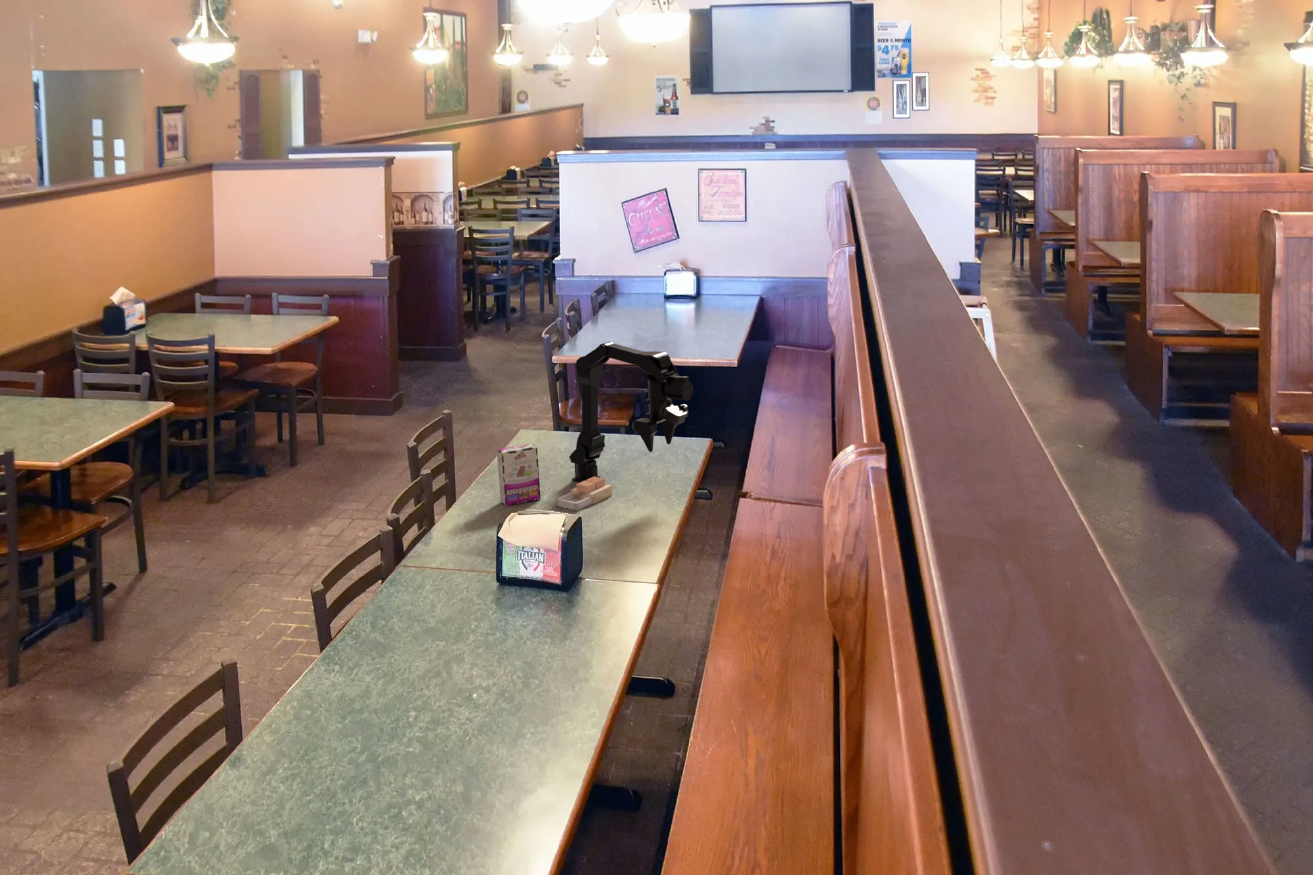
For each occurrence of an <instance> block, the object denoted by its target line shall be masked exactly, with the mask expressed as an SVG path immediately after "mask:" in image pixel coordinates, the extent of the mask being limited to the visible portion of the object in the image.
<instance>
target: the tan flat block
mask: <svg viewBox="0 0 1313 875" xmlns="http://www.w3.org/2000/svg"><path fill="white" fill-rule="evenodd" d="M570 492H572V493H573V499H578V500H583V499H585V498H587V497H589V496H590V497H592V504H591V505H594V504H596V503H598V502H601V501H602V500H605V499H607V498H609V497H611V496H613V485H611V484H607V483H605V485H604V486H602V487H600V488H597V489H595V490H593V491H591V492H588V493H585V492H580V491H577V490H576V487H574V488H570Z"/></svg>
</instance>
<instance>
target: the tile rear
mask: <svg viewBox="0 0 1313 875" xmlns="http://www.w3.org/2000/svg"><path fill="white" fill-rule="evenodd" d="M586 481H589V482H594V483H595V484H596V489H597V488H600V487H602V486H604V485H605V484H606V478H603V477H600V478H599V477H592V478H590V479H587V480H586Z"/></svg>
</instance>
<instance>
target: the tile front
mask: <svg viewBox="0 0 1313 875" xmlns="http://www.w3.org/2000/svg"><path fill="white" fill-rule="evenodd" d="M575 488H576V490H577V491H580V492H585V493H588V492H591V491H593V490H595V489H596V484H595V483H594V482H589V481H583V482H578V483H575Z"/></svg>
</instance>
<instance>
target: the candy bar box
mask: <svg viewBox="0 0 1313 875" xmlns="http://www.w3.org/2000/svg"><path fill="white" fill-rule="evenodd" d="M538 454H539V453H538V446H536V445H535V444H533V443H527V444H520V445H515V446H508V447H503V448H498V449H496V458H497V459H496V460H497V468H498V469H497V472H498V483H499V496H500V502H501V504H503V505H504V506H506V507H509V506H514V505H518V504H517V503H520V504H523V503H522V502H525V501H530V502H533V501H532V500H535V499H536V500H535V501H538V500H537V499H540V500H541V498H542V497H541V484H540V472H539V471H540V469H539V456H538ZM525 503H526V502H525Z"/></svg>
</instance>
